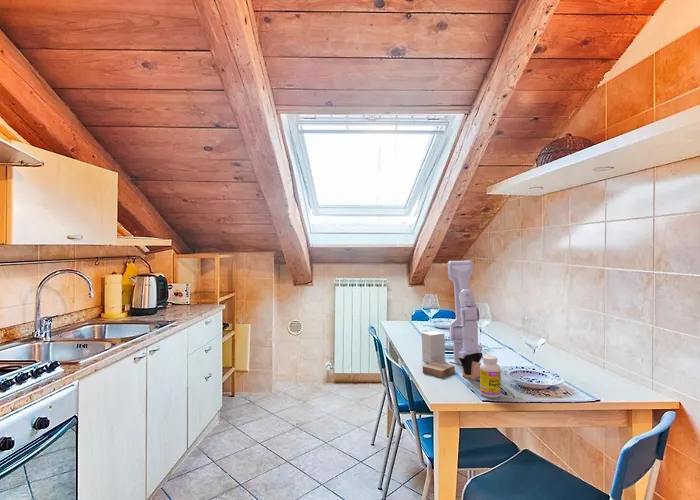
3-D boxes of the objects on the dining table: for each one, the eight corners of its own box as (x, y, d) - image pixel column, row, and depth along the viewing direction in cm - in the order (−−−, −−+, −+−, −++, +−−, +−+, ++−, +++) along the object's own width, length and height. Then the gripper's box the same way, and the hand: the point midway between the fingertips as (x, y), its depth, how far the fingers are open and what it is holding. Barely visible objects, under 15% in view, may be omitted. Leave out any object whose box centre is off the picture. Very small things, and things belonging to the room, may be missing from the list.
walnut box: (435, 368, 162) (435, 361, 162) (454, 373, 155) (454, 365, 155) (422, 373, 156) (422, 366, 156) (442, 378, 149) (441, 371, 149)
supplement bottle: (488, 399, 127) (487, 360, 127) (476, 392, 133) (475, 355, 133) (505, 397, 129) (504, 358, 129) (493, 390, 135) (492, 353, 135)
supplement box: (445, 362, 168) (445, 333, 168) (431, 364, 165) (430, 335, 165) (435, 358, 175) (435, 330, 175) (421, 360, 172) (421, 332, 172)
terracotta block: (468, 373, 153) (468, 359, 152) (479, 376, 149) (479, 362, 149) (462, 376, 149) (462, 362, 149) (473, 379, 146) (473, 364, 146)
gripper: (469, 342, 141) (470, 380, 141) (489, 335, 151) (489, 370, 151) (452, 339, 147) (453, 375, 147) (472, 333, 156) (473, 366, 157)
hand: (471, 372), depth 149 cm, fingers closed on terracotta block, 4 cm apart
